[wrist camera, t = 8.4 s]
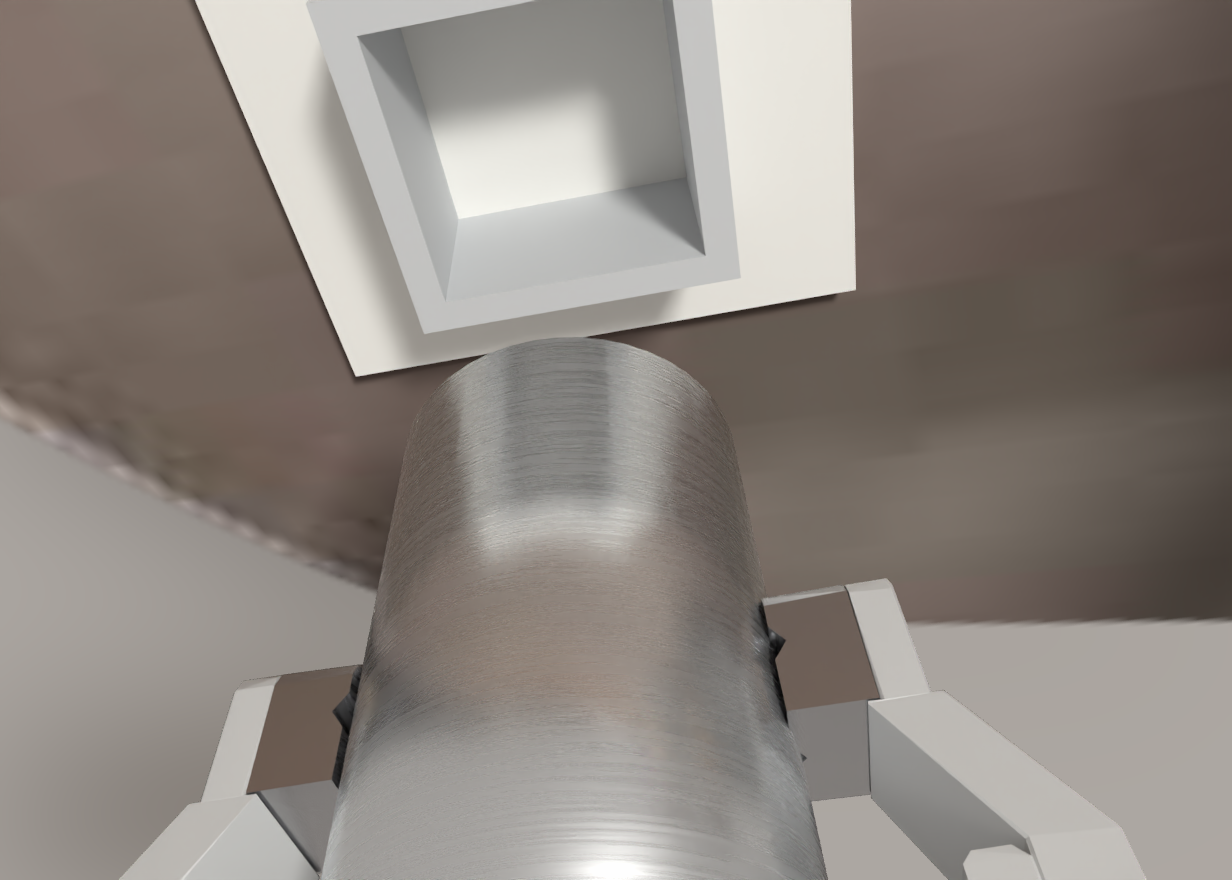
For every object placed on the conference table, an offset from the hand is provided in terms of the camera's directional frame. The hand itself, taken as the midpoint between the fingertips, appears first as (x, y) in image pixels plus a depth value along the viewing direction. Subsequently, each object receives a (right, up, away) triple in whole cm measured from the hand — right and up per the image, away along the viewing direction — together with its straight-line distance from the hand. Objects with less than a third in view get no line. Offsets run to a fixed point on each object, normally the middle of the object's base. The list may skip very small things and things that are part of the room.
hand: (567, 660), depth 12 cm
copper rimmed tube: (0, +2, +3) cm, 4 cm away
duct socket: (-1, +13, +15) cm, 19 cm away
